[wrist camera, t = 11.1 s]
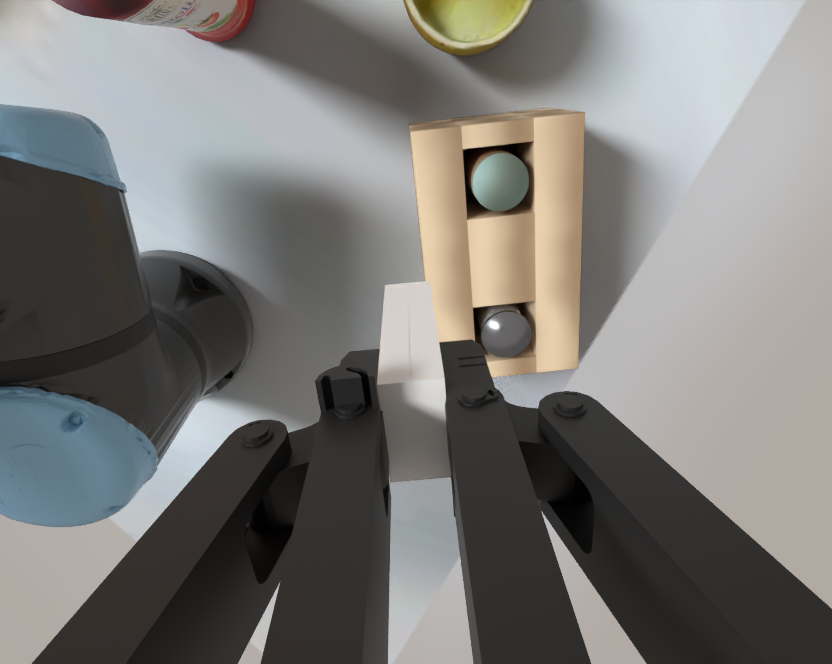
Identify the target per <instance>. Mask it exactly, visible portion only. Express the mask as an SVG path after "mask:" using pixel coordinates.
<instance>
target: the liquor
mask: <svg viewBox="0 0 832 664" xmlns="http://www.w3.org/2000/svg"><path fill="white" fill-rule="evenodd" d="M52 1H54V2H56V3H57V4H59V5H61V6H62V7H64V8H66V9H67V10H70V11H73V12H75V13H78V14H81V15H84V16H90V17H97V18H104V19H111V20H118V21H124V22H130V23H136V24H142V25H154V26H166V27H174V28H180V29H185V30H186V31H187V32H188V33H190V34H192V35H193V36H195V37H197V38H199V39H202V40H205V41H211V42H223V41H226V40H229V39H232V38H233V37H235V36H237V35H238V34H239V33H240V32H242V31H243V30H244V29H245V27H246V26H247V24H248V23H249V21H250V18H251V16H252V13H253V9H254V4H255V0H52Z"/></svg>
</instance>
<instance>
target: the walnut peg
mask: <svg viewBox="0 0 832 664" xmlns="http://www.w3.org/2000/svg"><path fill="white" fill-rule="evenodd" d="M463 163H464V179H465V183H466V184H467V186H468V187H469V189H470V190H471V191H472V193H473V194H474V196H475V197H476V199H477V200H478V201H479V203H480V204H481V205H483V206H484V207H485V208H487V209H489V210H493V211H505V210H509V209H511V208H513V207H515V206H516V205H517V204H519V203H520V202H521V201H522V199H523V198H524V196H525V195H526V192H527V190H528V186H529V175H528V171H527V168H526V166H525V165H524V163H523V162H522V161H521V160H520V159H518V158H517V157H515V156H514V155H512V154H510V153H509V152H507V151H505V150H503V149H502V148H500V147H498V146H497V145H496V146H487V147H478V148H469V149H467V150H466V151H465V152H464V154H463Z"/></svg>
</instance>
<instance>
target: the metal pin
mask: <svg viewBox="0 0 832 664" xmlns="http://www.w3.org/2000/svg"><path fill="white" fill-rule="evenodd" d="M474 311H475V314H476V317H477V320H478V323H479V326H480V329H481V339H482V343H483V345H484V347H485V349H486V350H487V351H488V352H489V353H491V354H492V355H494V356H497V357H502V358H507V357H512V356H515V355H517V354H519V353H521V352H522V351H523V350H524V349H525V348H526V347H527V345H528V344H529V342H530V339H531V327H530V325H529V323H528V321H527V320H526V318H525V317H524V316H523V315H521V313H520V311H519V310H518V308H517V306H516V304H515V303H512V304H502V305H493V306H483V307H474Z"/></svg>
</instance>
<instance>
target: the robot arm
mask: <svg viewBox="0 0 832 664" xmlns="http://www.w3.org/2000/svg"><path fill="white" fill-rule="evenodd" d="M126 192H127V190H126V186H125V184H124V183H122V182H121V181H120V178H119V175H118V172H117V168H116V165H115V162H114V158H113V155H112V152H111V149H110V145H109V142H108V139H107V137H106V135H105V134H104V132H103V131H102V130H101V129H100V127H99V126H98V125H96V124H95V123H94V122H93V121H91V120H90V119H88V118H86V117H84V116H82V115H79V114H76V113H72V112H66V111H59V110H52V109H43V108H34V107H24V106H13V105H2V104H0V514H2V515H4V516H6V517H8V518H10V519H13V520H16V521H20V522H24V523H28V524H33V525H40V526H49V527H72V526H81V525H86V524H91V523H94V522H97V521H100V520H103V519H106V518H108V517H110V516H112V515H113V514H115V513H117V512H118V511H120V510H121V509H122V508H124V507H125V506H126V505H127V504H128V503H129V502H130V501H131V500H132V499H133V497H134V496H135V495H136V493H137V492H138V491H139V489H140V488H141V487H142V486H143V484H145V483H146V482H147V481H148V480H149V479H151V478H152V477H153V475H154V474H155V472H156V470H157V466H158V464H159V462H160V461H161V459H162V458H163V456H164V454H165V453H166V451H167V449H168V448H169V446H170V445H171V443H172V441H173V440H174V438H175V437H176V435H177V433H178V432H179V430H180V429H181V427H182V425H183V424H184V422H185V421H186V419H187V417H188V416H189V414H190V413H191V411H192V410H193V408H194V406H195V405H196V403H197V402H199V401H201V400H203V399H205V398H206V397H208V396H210V395H212V394H214V393H216V392H217V391H219V390H221V389H222V388H223V387H225V386H226V385H227V384H228V383H229V382H231V381H232V379H233V378H234V377H235V376H236V375H237V374H238V372H239V371H240V369H241V367H242V366H243V364H244V362H245V360H246V358H247V357H248V354H249V352H250V349H251V345H252V338H253V326H252V320H251V315H250V312H249V309H248V307H247V304H246V302H245V300H244V298H243V297H242V295H241V293H240V292H239V290H238V289H237V288H236V286H235V285H234V284H233V283H232V282H231V281H230V280H229V279H228V278H227V277H226V276H225V275H224V274H223V273H222V272H220V271H219V270H218V269H216V268H215V267H213V266H212V265H210V264H208V263H207V262H205V261H203V260H201V259H199V258H196V257H194V256H191V255H188V254H184V253H180V252H175V251H166V250H156V251H147V252H142V253H139V250H138V246H137V242H136V238H135V234H134V230H133V226H132V222H131V218H130V214H129V210H128V206H127V202H126V198H125V194H124V193H126ZM315 383H316V388H317V394H318V399H319V404H320V409H321V416H320V420H319V422H317V423H316V424H314V425H312V426H309V427H307V428H304V429H301V430H297V431H294V432H290V433H288V431H287V428H286V425H284V424H283V423H281V422H280V421H275V420H258V421H255V422H254V421H253V422H250V423H248V424H246V425H244V426H242V427H240V428H238V429H237V430H235V431H234V432H233V433H232V434H231V435H230V436H229V437H228V438H227V439H226V440H225V441H224V442H223V444H222V445H221V446H220V447H219V448H218V449H217V451H216V452H215V453H214V454H213V455H212V456H211V457H210V459H209V460H208V461H207V462H206V463H205V464H204V466H203V467H202V468H201V469H200V470H199V471H198V472H197V474H196V475H195V476H194V477H193V478H192V479H191V481H190V482H189V483H188V484H187V485H186V486H185V487H184V489H183V490H182V491H181V492H180V493H179V494H178V496H177V497H176V498H175V499H174V500H173V501H172V502H171V504H170V505H169V506H168V507H167V508H166V509H165V510H164V512H163V513H162V514H161V515H160V516H159V517H158V519H157V520H156V521H155V522H154V523H153V524H152V525H151V527H150V528H149V529H148V530H147V531H146V532H145V534H144V535H143V536H142V537H141V538H140V539H139V540H138V542H137V543H136V544H135V545H134V546H133V547H132V549H131V550H130V551H129V552H128V553H127V554H126V555H125V557H124V558H123V559H122V560H121V561H120V562H119V564H118V565H117V566H116V567H115V568H114V569H113V571H112V572H111V573H110V574H109V575H108V576H107V577H106V579H105V580H104V581H103V582H102V583H101V584H100V585H99V587H98V588H97V589H96V590H95V591H94V592H93V594H92V595H91V596H90V597H89V598H88V599H87V601H86V602H85V603H84V604H83V605H82V606H81V607H80V609H79V610H78V611H77V612H76V614H74V616H73V617H72V618H71V619H70V620H69V621H68V622H67V624H66V625H65V626H64V627H63V628H62V629H61V630H60V632H59V633H58V634H57V635H56V636H55V637H54V639H53V640H52V641H51V642H50V643H49V644H48V645H47V647H46V648H45V649H44V650H43V651H42V652H41V654H40V655H39V656H38V657H37V658H36V659H35V661H34V662H33V663H32V664H238V662H239V660H240V658H241V656H242V654H243V652H244V650H245V648H246V646H247V644H248V643H249V641H250V639H251V637H252V635H253V633H254V631H255V629H256V627H257V625H258V623H259V621H260V619H261V617H262V615H263V614H264V612H265V610H266V608H267V606H268V604H269V602H270V600H271V598H272V596H273V594H274V592H275V590H276V588H277V586H278V585H279V583H280V586H279V590H278V594H277V598H276V602H275V606H274V610H273V615H272V619H271V623H270V627H269V631H268V635H267V640H266V644H265V648H264V652H263V656H262V660H261V664H388V619H389V570H390V520H391V494H390V486H389V476H390V482H399V481H410V480H422V479H433V478H444V477H451V480H452V494H453V507H454V516H455V517H456V525H457V533H458V541H459V549H460V557H461V565H462V573H463V581H464V589H465V597H466V605H467V614H468V622H469V629H470V638H471V646H472V654H473V662H474V664H591V662H590V659H589V656H588V653H587V650H586V647H585V644H584V640H583V638H582V635H581V632H580V628H579V625H578V622H577V619H576V616H575V613H574V610H573V607H572V604H571V601H570V598H569V595H568V592H567V589H566V586H565V583H564V580H563V576H562V573H561V570H560V568H559V564H558V561H557V558H556V555H555V552H554V549H553V546H552V543H551V540H550V537H549V534H548V531H547V528H546V525H545V522H544V519H543V516H542V513H541V511H542V512H543V514H544V515H545V516H546V518H547V519H548V521H549V522H550V524H551V525H552V527H553V528H554V530H555V531H556V532H557V534H558V535H559V537H560V538H561V540H562V541H563V543H564V544H565V546H566V547H567V548H568V550H569V551H570V553H571V554H572V556H573V557H574V559H575V560H576V562H577V563H578V564H579V566H580V567H581V569H582V570H583V572H584V573H585V574H586V576H587V578H588V579H589V580H590V582H591V583H592V585H593V586H594V587H595V589H596V591H597V592H598V594H599V595H600V596H601V598H602V599H603V601H604V602H605V604H606V605H607V607H608V608H609V610H610V611H611V612H612V614H613V615H614V617H615V618H616V620H617V621H618V623H619V624H620V626H621V627H622V628H623V630H624V631H625V633H626V634H627V636H628V637H629V639H630V640H631V641H632V643H633V644H634V646H635V647H636V649H637V650H638V652H639V653H640V654H641V656H642V657H643V659H644V660H645V662H646V663H647V664H832V609H831V608H830V607H829V606H828V605H827V604H826V603H824V602H823V601H822V600H821V599H820V598H819V597H818V596H817V595H815V594H814V593H813V592H812V591H811V590H810V589H808V588H807V587H806V586H805V585H804V584H803V583H802V582H801V581H800V580H798V579H797V578H796V577H795V576H794V575H793V574H792V573H791V572H789V571H788V570H787V569H786V568H785V567H784V566H783V565H782V564H781V563H779V562H778V561H777V560H776V559H775V558H774V557H773V556H771V555H770V554H769V553H768V552H767V551H766V550H765V549H764V548H762V547H761V546H760V545H759V544H758V543H757V542H756V541H755V540H753V539H752V538H751V537H750V536H749V535H748V534H746V532H744V531H743V530H742V529H741V528H740V527H739V526H738V525H736V524H735V523H734V522H733V521H732V520H731V519H730V518H729V517H727V516H726V515H725V514H724V513H723V512H722V511H721V510H720V509H718V508H717V507H716V506H715V505H714V504H713V503H712V502H710V501H709V500H708V499H707V498H706V497H705V496H704V495H703V494H701V493H700V492H699V491H698V490H697V489H696V488H695V487H694V486H692V485H691V484H690V483H689V482H688V481H687V480H686V479H685V478H684V477H682V476H681V475H680V474H679V473H678V472H677V471H676V470H675V469H673V468H672V467H671V466H670V465H669V464H667V462H665V461H664V460H663V459H662V458H661V457H660V456H659V455H658V454H656V453H655V452H654V451H653V450H652V449H651V448H649V447H648V446H647V445H646V444H645V443H644V442H643V441H642V440H641V439H640V438H638V437H637V436H636V435H635V434H634V433H633V432H632V431H631V430H629V429H628V428H627V427H626V426H625V425H624V424H622V422H620V421H619V420H618V419H617V418H616V417H615V416H614V415H612V414H611V413H610V412H609V411H608V410H607V409H606V408H605V407H603V406H602V405H601V404H600V403H599V402H597V401H596V400H595V399H593V398H592V397H590V396H588V395H584V394H581V393H578V392H569V391H564V392H556V393H552V394H550V395H547V396H545V397H544V398H543V399H542V400H541V401H540V403H539V407H538V409H536V408H526V407H520V406H516V405H513V404H510V403H508V402H506V401H505V400H504V397H503V395H502V394H501V392H500V391H499V390H497V389H496V388H495V387H494V383H493V380H492V377H491V374H490V371H489V368H488V365H487V361H486V358H485V355H484V352H483V348H482V346H480V345H479V344H478V343H476V342H475V341H474V340H472V339H470V340H459V341H448V342H439V338H438V331H437V325H436V318H435V312H434V305H433V298H432V292H431V285H430V281H422V282H411V283H400V284H389V285H385V291H384V304H383V316H382V328H381V341H380V349H374V350H363V351H352V352H349V353H348V354H347V355H346V356H345V357H344V358H343V359H342V360H341V363H340V366H338V367H334V368H332V369H329V370H327V371H325V372H324V373H322V374H321V375H319V376H318V378H317V379H316V381H315Z"/></svg>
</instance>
